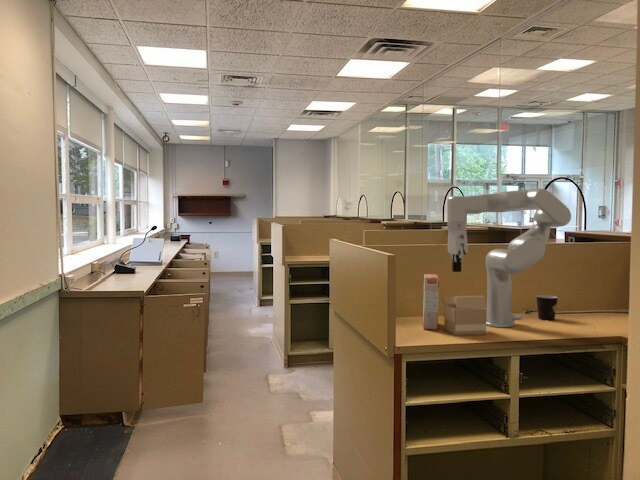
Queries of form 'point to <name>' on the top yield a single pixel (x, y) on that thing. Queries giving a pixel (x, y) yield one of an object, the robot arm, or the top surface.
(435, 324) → the cracker box
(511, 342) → the top surface
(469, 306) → the near flap
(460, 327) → the carton
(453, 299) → the far flap
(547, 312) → the coffee mug
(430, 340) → the top surface
